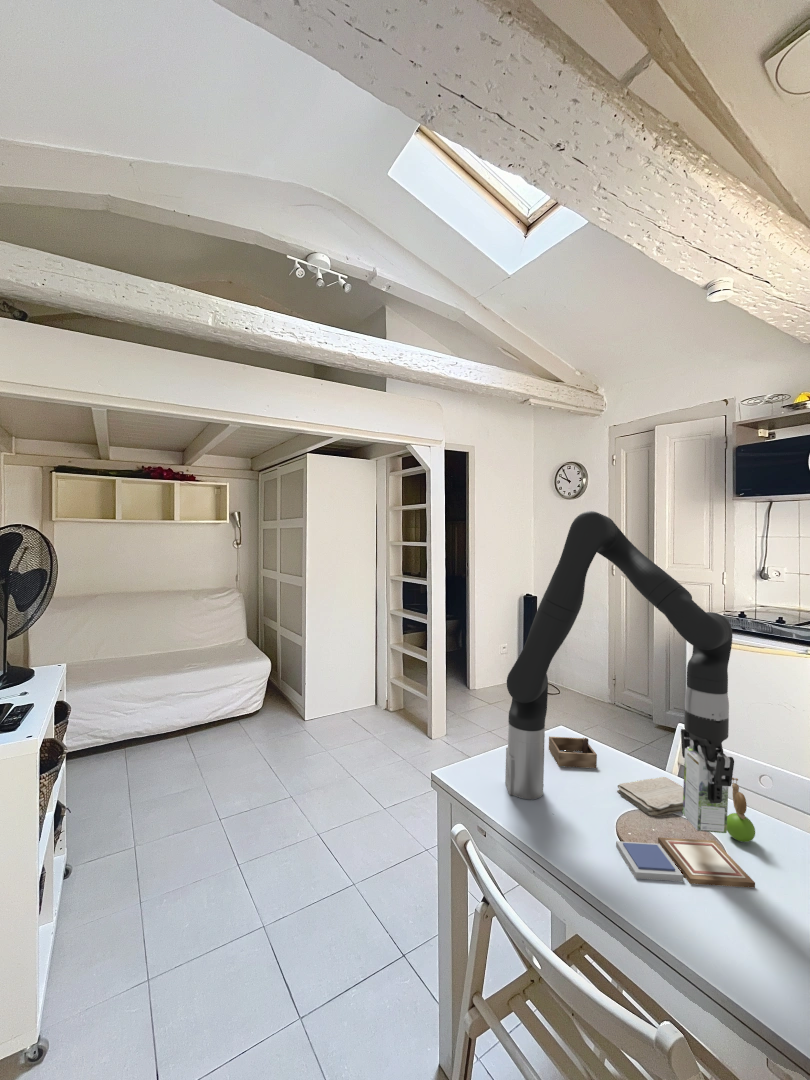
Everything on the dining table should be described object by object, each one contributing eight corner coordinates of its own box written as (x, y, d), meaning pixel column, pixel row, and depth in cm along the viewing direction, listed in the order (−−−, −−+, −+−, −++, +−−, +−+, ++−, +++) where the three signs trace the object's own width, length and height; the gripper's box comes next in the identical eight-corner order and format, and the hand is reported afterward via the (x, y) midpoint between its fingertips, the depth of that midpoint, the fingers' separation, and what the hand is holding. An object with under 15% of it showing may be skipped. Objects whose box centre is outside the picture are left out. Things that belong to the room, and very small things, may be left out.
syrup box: (710, 816, 94) (712, 747, 94) (728, 835, 88) (729, 761, 88) (682, 814, 95) (683, 746, 95) (697, 832, 89) (699, 759, 89)
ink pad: (635, 878, 87) (635, 870, 87) (616, 846, 96) (616, 839, 96) (683, 881, 86) (683, 873, 86) (659, 849, 95) (659, 841, 95)
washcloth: (613, 793, 117) (614, 781, 117) (665, 783, 123) (665, 772, 123) (652, 820, 106) (652, 807, 106) (707, 808, 112) (707, 795, 112)
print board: (690, 883, 86) (690, 877, 86) (658, 841, 98) (658, 836, 98) (755, 887, 85) (755, 881, 85) (714, 845, 97) (714, 839, 97)
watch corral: (558, 766, 130) (558, 752, 130) (548, 749, 141) (549, 736, 141) (596, 768, 129) (596, 754, 129) (583, 750, 140) (583, 738, 140)
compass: (561, 752, 139) (562, 728, 139) (589, 759, 135) (589, 735, 135) (555, 762, 132) (556, 738, 132) (584, 770, 128) (584, 745, 128)
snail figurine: (747, 832, 102) (748, 779, 102) (759, 850, 96) (760, 794, 96) (719, 826, 104) (720, 775, 104) (729, 844, 98) (730, 789, 98)
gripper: (668, 697, 99) (667, 773, 99) (709, 724, 85) (707, 813, 85) (703, 699, 99) (701, 775, 99) (750, 725, 84) (748, 815, 84)
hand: (704, 792), depth 92 cm, fingers closed on syrup box, 6 cm apart
